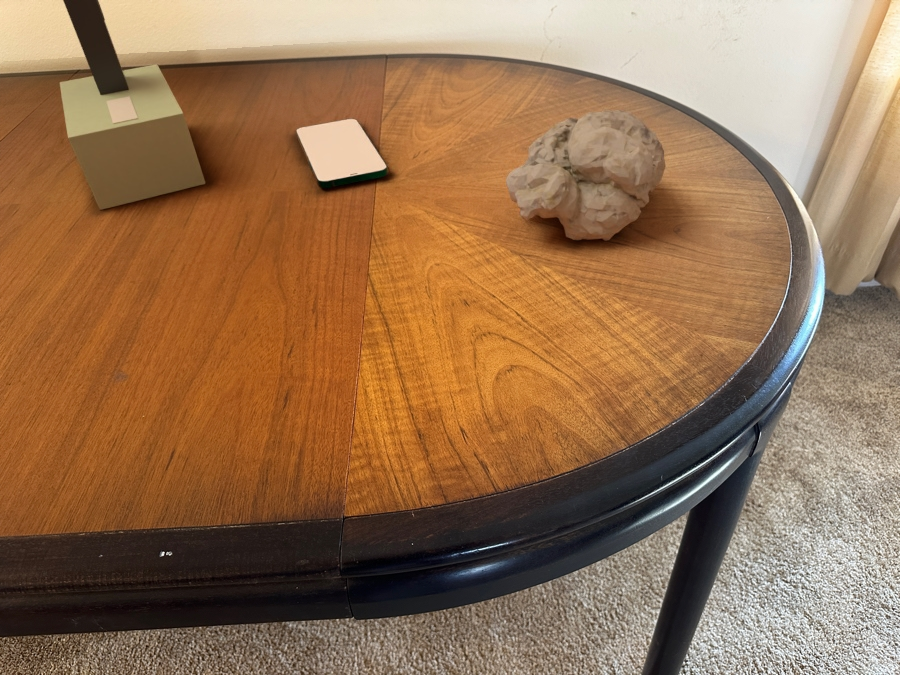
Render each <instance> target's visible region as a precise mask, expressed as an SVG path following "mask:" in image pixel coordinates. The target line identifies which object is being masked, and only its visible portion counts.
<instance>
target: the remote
mask: <svg viewBox="0 0 900 675" xmlns="http://www.w3.org/2000/svg"><path fill="white" fill-rule="evenodd" d="M62 1H63V4H64V6H65V9H66V11H67V14H68V16H69V19H70V21H71V24H72V27H73V29H74V31H75V34H76V37H77V39H78V42H79V45H80V47H81V50H82V53H83V54H84V57H85V59H86V63H87V65H88V67H89V70H90V72H91V76H93V77H94V80H95V82H96V85H97V87H98V90H99V93H100V95H104V94H109V93H114V92H120V91H125V90H129V88H128V85H127V82H126V78H125V75H124V73H123V70H124V69H123V68H122V64H121V63H120V59H119V57H118V54H117V51H116V48H115V45H114V43H113V40H112V36H111V34H110V32H109V29H108V26H107V23H106V19H105V16H104V13H103V10H102V7H101V4H100V0H62Z"/></svg>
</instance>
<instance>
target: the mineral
mask: <svg viewBox="0 0 900 675" xmlns="http://www.w3.org/2000/svg"><path fill="white" fill-rule="evenodd" d="M527 150H528V156H527V157H526V158H527V159H526V160H525V161H524V164H522V165H520V166H518V167H515V168H514V169H512V170H511V171H510V172H509V173H508V175H507V176H506V178H505V184H506V187H507V190H508V194H509V197H510V199H511V201H512V202H513V203H516V204H517V207H518V209H519V215H520V217H521V218H522V219H523V220H525V221H529V220H530V219H532V218H533V217H535V216H539V217H540V218H542V219H550V218H557V219H558V220H559V222H560V224H561V225H562V227H563V229H564V233H565V238H568V239H571V240H573V241H581V240H589V241H590V240H601V239H602V240H603V241H604V242H607V241H610V239H612V238H613V236H614V235H616V234H618V233H620V231H622V229H624V228H625V227H626V226H628V225H629V224H631V223H633V222H635V221H637V220H638V219H639V216H640V215H641V213H642V210H641V208H644V207H645V206H646V205H647V204H648V203H650V195H649V194H651V193H652V192H654V190H655V189H656V187H657V186H659V185H660V183H661V181H662V179H663V176H664V173H665V170H666V160H665V150H664V148H663V144H662V143H661V141H660V140H659V138H658V135H657V133H656V131H654V130H652V129H651V128H650V127H648V126H647V124H646V123H645V122H644V121H643V120H642V119H641V118H639V117H637V116H636V115H634V114H633V113H631V112H630V111H629V110H618V109H615V110H613V111H612V110H610V109H606V110H603V111H588V112H587V113H585V114H584V115H582V116H581V117H580V118H577V117H567V118H566V119H565V120H563V121H559V122H556V123H554V125H553V126H551V127H550V128H549V129H548V130H547V131H546V132H545V133H544V134H543V135H541V136H539V137H537V138H535V140H534V141H533V142H532V143H531V145H530V146H529V147H528V148H527Z"/></svg>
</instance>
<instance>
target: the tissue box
mask: <svg viewBox="0 0 900 675" xmlns="http://www.w3.org/2000/svg"><path fill="white" fill-rule="evenodd" d="M122 70H123V73H124V75H125V78H126V82H127V85H128V88H129V90H125V91H120V92H114V93H109V94H104V95H100V93H99V90H98V87H97V85H96V82H95V80H94V77H93V75H91V76H86V77H82V78H75V79H70V80H64V81H60V82H59V89H60V94H61V102H62V108H63V116H64V122H65V126H66V127H65V128H66V134H67V138H68V141H69V144H70V146H71V148H72V150H73V153H74V156H75V157H76V159H77V162H78V164H79V166H80V169H81V170H82V173H83V175H84V177H85V180H86V182H87V184H88V186H89V188H90V192H91V193H92V194H93V195H92V196H93V197H94V200H95V202H96V204H97V206H98V209H99V211H103V210H106V209H110V208H115V207H118V206H122V205H126V204H131V203H135V202H138V201H142V200H146V199H151V198H155V197H158V196H162V195H166V194H170V193H174V192H179V191H182V190H187V189H190V188H194V187H198V186H202V185H206V180H205V176H204V174H203V171H202V168H201V165H200V162H199V158H198V155H197V152H196V149H195V145H194V142H193V139H192V136H191V133H190V130H189V126H188V123H187V120H186V117H185V113H184V112H183V110H182V108H181V106H180V104H179V102H178V101H177V98H176V97H175V94H174V93H173V91H172V89H171V87H170V85H169V83H168V82H167V80H166V78H165V76H164V74H163V72H162V71H161V68H160V66H159V65H158V64H150V65H145V66H140V67H135V68H129V69H122Z"/></svg>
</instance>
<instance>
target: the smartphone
mask: <svg viewBox="0 0 900 675" xmlns="http://www.w3.org/2000/svg"><path fill="white" fill-rule="evenodd" d="M295 136H296V139H297V141H298V143H299V146H300V148H301V151H302V153H303V155H304V157H305V160H306V162H307V164H308V166H309V170H310V171H311V173H312V176H313V178H314V180H315V183H316V185H317V186H318V187H319V188H322V189H328V188H334V187H338V186H343V185H348V184H354V183H359V182H365V181H369V180H374V179H379V178H383V177H385V176H387V175H388V174H389V168H388V164H387V163H386V161H385V160H384V159H383V157H382V155H381V154H380V152H379V151H378V149H377V148H376V146H375V144H374V143H373V141H372V140H371V139H370V137H369V135H368V134H367V132H366V131H365V129H364V128H363V126H362V125H361V123H360V122H359V120H358V119H356V118H344V119H339V120H335V121H330V122H329V121H328V122H322V123H318V124H312V125H311V124H310V125H306V126H301V127H300V126H299V127H297V128H296V129H295Z"/></svg>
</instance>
